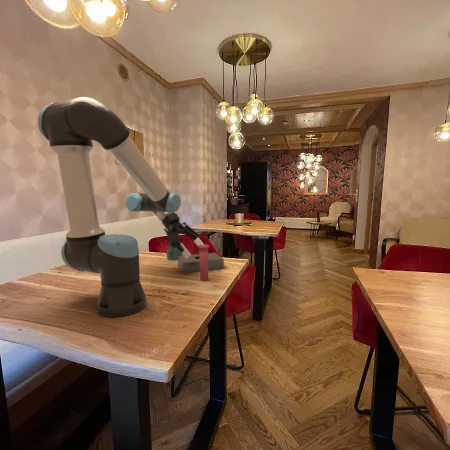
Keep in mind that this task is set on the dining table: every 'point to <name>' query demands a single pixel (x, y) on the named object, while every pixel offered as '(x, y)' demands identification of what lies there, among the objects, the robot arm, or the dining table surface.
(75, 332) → the dining table surface
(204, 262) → the pin
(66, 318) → the dining table surface
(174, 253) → the green knobbed block
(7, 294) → the dining table surface
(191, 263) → the socket block
